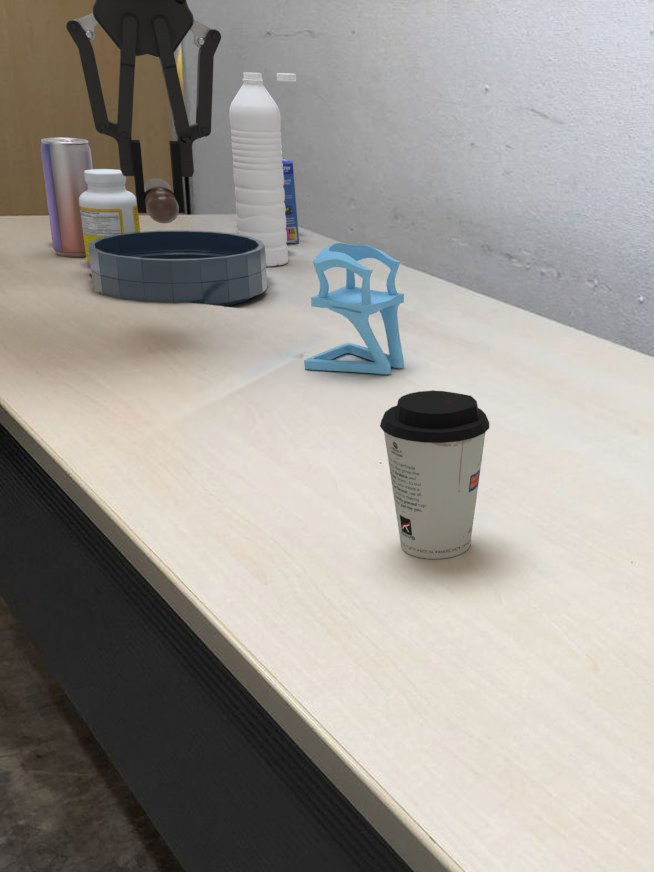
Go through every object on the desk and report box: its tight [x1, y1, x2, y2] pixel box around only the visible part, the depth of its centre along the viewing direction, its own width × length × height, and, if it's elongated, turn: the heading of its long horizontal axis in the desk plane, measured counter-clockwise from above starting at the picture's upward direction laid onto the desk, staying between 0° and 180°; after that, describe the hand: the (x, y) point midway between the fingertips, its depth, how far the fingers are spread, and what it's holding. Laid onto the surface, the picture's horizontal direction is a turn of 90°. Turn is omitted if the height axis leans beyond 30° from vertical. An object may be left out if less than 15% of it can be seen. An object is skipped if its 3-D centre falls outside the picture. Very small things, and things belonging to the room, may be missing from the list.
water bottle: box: [228, 71, 297, 268], centre depth 151 cm, size 9×6×25 cm
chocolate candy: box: [144, 177, 180, 224], centre depth 109 cm, size 13×3×3 cm, turn 24°
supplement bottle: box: [79, 168, 141, 276], centre depth 141 cm, size 7×7×13 cm
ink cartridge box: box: [282, 157, 300, 245], centre depth 169 cm, size 10×6×14 cm, turn 40°
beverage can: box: [40, 137, 94, 258], centre depth 151 cm, size 6×6×15 cm
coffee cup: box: [379, 390, 490, 560], centre depth 73 cm, size 7×7×10 cm
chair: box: [303, 242, 405, 375], centre depth 110 cm, size 8×8×12 cm
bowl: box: [88, 229, 268, 307], centre depth 135 cm, size 19×19×6 cm
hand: (160, 210), depth 110 cm, fingers closed on chocolate candy, 3 cm apart
